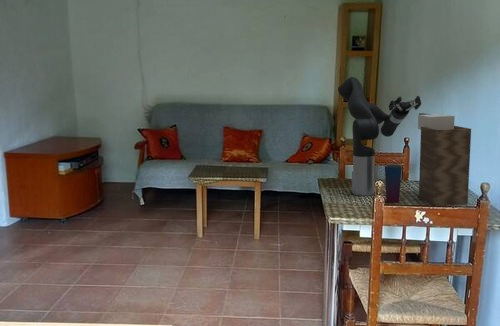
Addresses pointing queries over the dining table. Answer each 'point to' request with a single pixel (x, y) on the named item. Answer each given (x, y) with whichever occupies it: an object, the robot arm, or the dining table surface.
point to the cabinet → (444, 165)
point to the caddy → (436, 121)
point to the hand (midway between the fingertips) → (409, 97)
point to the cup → (393, 182)
